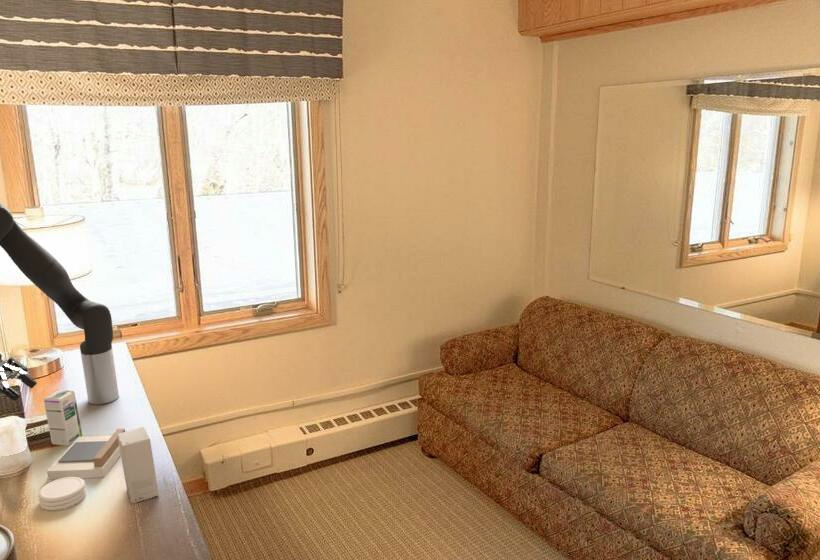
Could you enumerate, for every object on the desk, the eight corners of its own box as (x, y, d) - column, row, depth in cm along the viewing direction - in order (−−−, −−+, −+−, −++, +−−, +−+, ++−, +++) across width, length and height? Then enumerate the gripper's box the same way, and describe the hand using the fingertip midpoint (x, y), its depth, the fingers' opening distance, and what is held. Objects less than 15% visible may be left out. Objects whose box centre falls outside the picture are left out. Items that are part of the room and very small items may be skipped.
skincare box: (159, 496, 155) (151, 439, 151) (130, 505, 152) (121, 446, 148) (152, 480, 162) (145, 425, 158) (124, 489, 159) (116, 432, 155)
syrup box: (69, 446, 180) (61, 399, 176) (50, 444, 181) (42, 397, 178) (82, 436, 185) (75, 390, 182) (65, 434, 187) (57, 389, 183)
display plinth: (80, 444, 181) (77, 428, 179) (130, 442, 181) (127, 427, 180) (48, 479, 163) (45, 462, 162) (104, 477, 164) (101, 460, 163)
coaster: (38, 516, 148) (36, 503, 148) (42, 494, 157) (39, 482, 156) (86, 505, 153) (84, 492, 152) (86, 484, 161) (84, 472, 160)
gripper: (-31, 355, 168) (21, 393, 172) (0, 337, 182) (47, 373, 185) (-48, 374, 169) (4, 412, 173) (-16, 355, 183) (31, 390, 186)
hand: (26, 391), depth 179 cm, fingers open, 8 cm apart
